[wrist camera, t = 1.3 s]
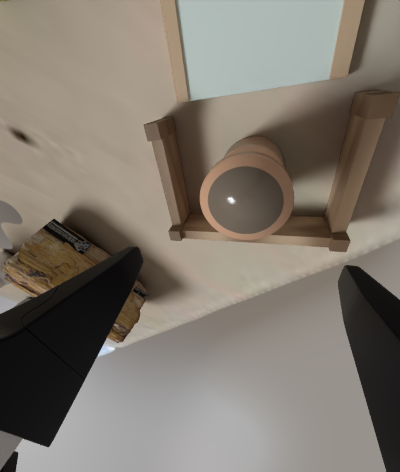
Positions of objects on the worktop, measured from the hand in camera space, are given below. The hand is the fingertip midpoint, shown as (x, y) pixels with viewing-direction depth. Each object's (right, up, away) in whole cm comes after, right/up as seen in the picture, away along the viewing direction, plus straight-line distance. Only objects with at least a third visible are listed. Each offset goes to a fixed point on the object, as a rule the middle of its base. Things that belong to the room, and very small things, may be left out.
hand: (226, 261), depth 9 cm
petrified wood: (-19, -4, +27) cm, 33 cm away
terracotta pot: (+4, +7, +10) cm, 13 cm away
